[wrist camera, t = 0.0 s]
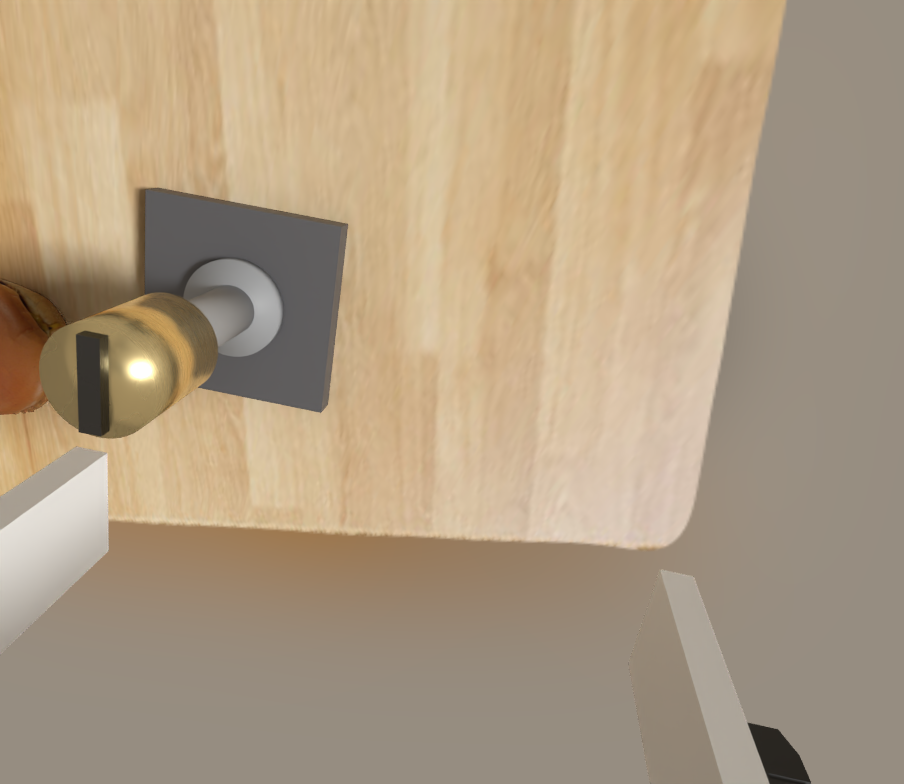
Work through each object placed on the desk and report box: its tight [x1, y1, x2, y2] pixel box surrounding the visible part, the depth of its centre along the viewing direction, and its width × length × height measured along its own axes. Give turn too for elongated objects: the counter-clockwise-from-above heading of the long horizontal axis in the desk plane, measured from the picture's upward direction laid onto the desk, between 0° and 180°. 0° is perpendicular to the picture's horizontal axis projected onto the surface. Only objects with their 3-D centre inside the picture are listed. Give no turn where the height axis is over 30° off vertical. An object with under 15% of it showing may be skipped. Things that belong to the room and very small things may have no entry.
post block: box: [145, 188, 348, 413], centre depth 39 cm, size 12×12×10 cm
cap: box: [39, 293, 218, 438], centre depth 31 cm, size 5×5×7 cm
